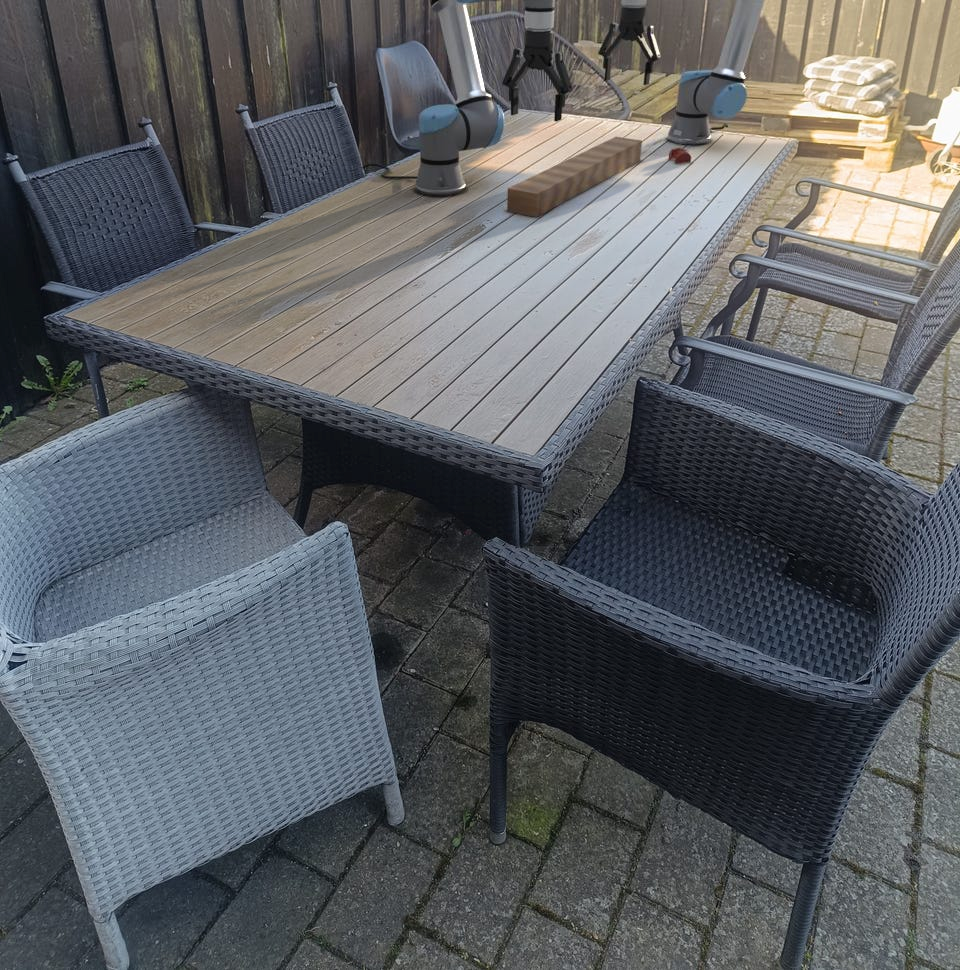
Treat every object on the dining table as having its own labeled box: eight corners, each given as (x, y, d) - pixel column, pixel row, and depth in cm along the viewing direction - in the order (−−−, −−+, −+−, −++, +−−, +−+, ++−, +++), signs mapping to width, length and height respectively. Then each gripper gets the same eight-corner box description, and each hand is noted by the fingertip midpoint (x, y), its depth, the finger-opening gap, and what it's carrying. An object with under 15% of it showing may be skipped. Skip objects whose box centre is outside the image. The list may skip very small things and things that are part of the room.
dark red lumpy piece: (683, 144, 286) (693, 150, 280) (681, 156, 289) (692, 163, 282) (667, 145, 285) (678, 152, 279) (666, 158, 288) (676, 165, 281)
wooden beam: (536, 217, 237) (537, 193, 234) (507, 211, 242) (507, 188, 238) (640, 160, 286) (642, 140, 282) (613, 156, 290) (615, 136, 286)
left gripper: (589, 31, 214) (583, 120, 226) (505, 24, 225) (503, 109, 237) (575, 35, 208) (570, 125, 221) (490, 27, 219) (489, 114, 232)
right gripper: (676, 7, 254) (667, 84, 266) (602, 2, 265) (596, 76, 277) (667, 10, 249) (658, 88, 261) (591, 4, 260) (586, 80, 272)
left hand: (535, 117), depth 229 cm, fingers open, 13 cm apart
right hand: (626, 82), depth 269 cm, fingers open, 13 cm apart
